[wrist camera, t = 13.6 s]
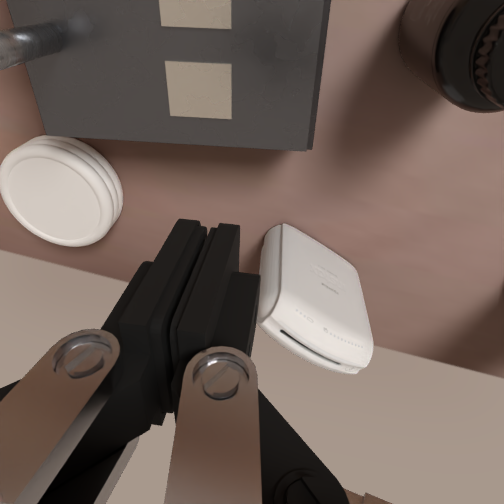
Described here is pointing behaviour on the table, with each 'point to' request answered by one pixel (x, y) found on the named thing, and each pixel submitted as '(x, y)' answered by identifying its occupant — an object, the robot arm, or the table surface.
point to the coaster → (61, 190)
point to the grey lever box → (173, 69)
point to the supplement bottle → (457, 50)
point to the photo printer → (313, 302)
